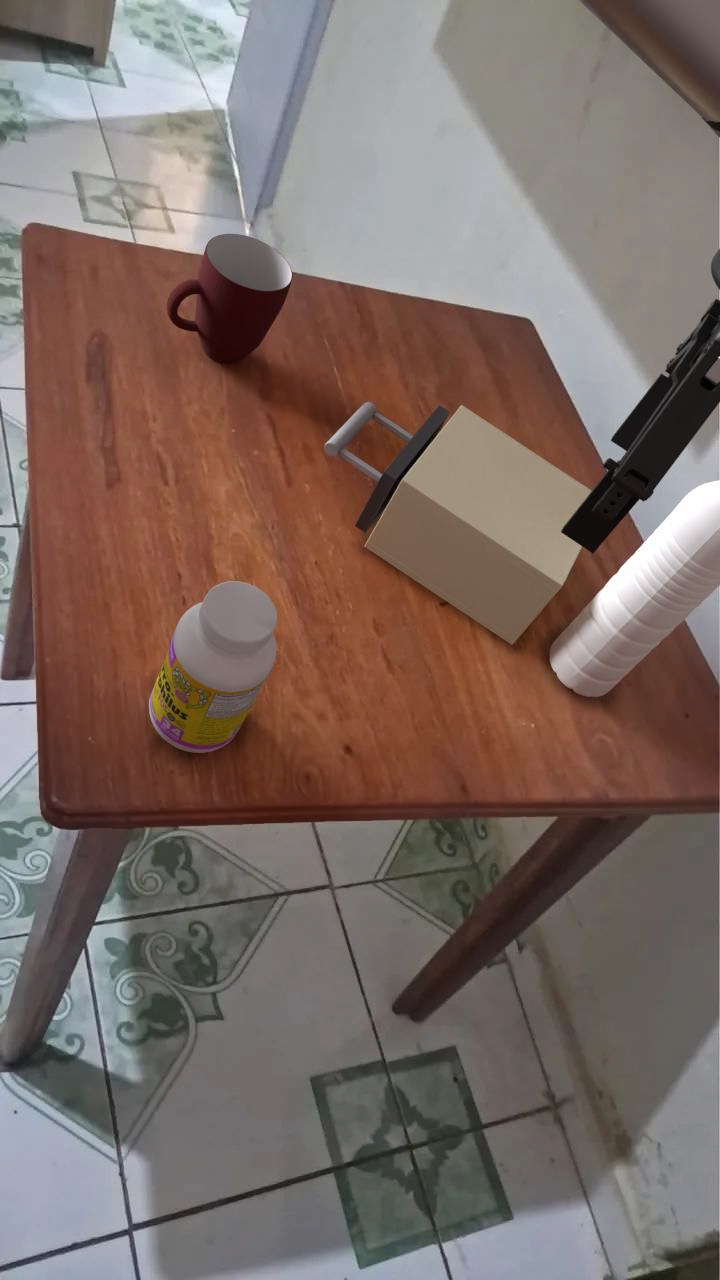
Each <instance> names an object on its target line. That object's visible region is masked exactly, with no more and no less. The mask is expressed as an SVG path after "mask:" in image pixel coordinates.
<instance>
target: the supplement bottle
mask: <svg viewBox="0 0 720 1280" xmlns="http://www.w3.org/2000/svg"><path fill="white" fill-rule="evenodd" d="M277 624H278V612H277V608H276V606H275V604H274V602H273V601H272V599H271V598H270V596H269V595H267V593H266V592H265V591H263V590H262V589H261V588H259V587H257V586H255V585H253V584H251V583H248V582H245V581H239V580H229V581H224V582H220V583H218V584H216V585H214V586H213V587H212V588H210V589H209V590H208V591H207V593H206V594H205V596H204V598H203V600H202V601H201V602H198V603H196V604H194V605H193V606H191V607H190V608H189V609H187V610H186V611H185V612H184V614H183V615H182V616H181V617H180V619H179V620H178V622H177V625H176V627H175V629H174V632H173V635H172V638H171V640H170V644H169V645H168V647H167V651H166V654H165V656H164V659H163V662H162V665H161V667H160V669H159V672H158V675H157V677H156V679H155V682H154V686H153V688H152V691H151V694H150V697H149V702H148V713H149V719H150V721H151V723H152V726H153V728H154V730H155V731H156V732H157V734H158V735H159V736H160V737H161V738H162V739H163V740H164V741H165V742H166V743H168V744H169V745H171V746H172V747H174V748H176V749H179V750H181V751H183V752H188V753H194V754H206V753H211V752H215V751H217V750H220V749H221V748H223V747H225V746H227V744H229V743H230V742H231V741H232V740H233V739H234V738H235V737H236V735H237V734H238V732H239V731H240V729H241V727H242V726H243V723H244V722H245V720H246V717H247V716H248V714H249V712H250V710H251V708H253V707H252V706H253V704H254V703H255V701H256V699H257V697H258V695H259V693H260V692H261V690H262V687H263V686H264V684H265V682H266V680H267V679H268V677H269V675H270V673H271V671H272V669H273V667H274V665H275V663H276V658H277V651H278V650H277V641H276V637H275V634H274V632H275V630H276V627H277Z"/></svg>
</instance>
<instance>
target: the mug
mask: <svg viewBox="0 0 720 1280" xmlns="http://www.w3.org/2000/svg"><path fill="white" fill-rule="evenodd" d="M199 265H200V266H199V270H198V274H197V279H187V280H184V281H181V282H180V283H178V284H177V285H176V286H175V287H174V288H173V289H172V290H171V291H170V292H169V295H168V296H167V301H166V314H167V317H168V319H169V320H170V322H171V323H172V324H173V325H174V326H175V327H177V328H179V329H180V330H183V331H187V332H192V333H194V332H195V333H197V336H198V339H199V342H200V346H201V348H202V350H203V352H204V354H205V355H206V356H207V357H208V358H210V359H211V360H212V361H214V362H217V363H219V364H224V365H234V364H238V363H240V362H241V361H243V360H244V359H245V358H247V357H248V356H249V355H250V354H252V353H253V352H254V351H255V350H256V349H257V348H259V346H260V345H261V344H262V342H263V341H264V339H265V337H266V336H267V334H268V333H269V330H270V329H271V328H272V326H273V324H274V323H275V321H276V320H277V317H278V316H279V314H280V312H281V311H282V309H283V306H284V305H285V303H286V300H287V296H288V294H289V291H290V288H291V285H292V281H293V277H294V275H293V269H292V268H291V267H292V266H291V265H290V264H289V262H288V260H287V259H286V257H284V256H283V255H282V254H281V253H280V251H278V250H277V249H275V248H274V247H272V246H271V245H269V244H267V243H266V242H264V241H262V240H260V239H257V238H254V237H251V236H248V235H244V234H238V233H223V234H219V235H216V236H214V237H212V238H211V239H210V240H208V242H207V243H206V246H205V248H204V252H203V255H202V258H201V261H200V264H199ZM193 295H196V302H195V303H196V304H195V313H194V314H195V316H194V320H190V319H187V318H183V317H181V316H180V315H179V313H178V312H179V311H178V310H179V308H180V305H181V303H182V302H183V301H184V300H185V299H186V298H188V297H190V296H193Z"/></svg>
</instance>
